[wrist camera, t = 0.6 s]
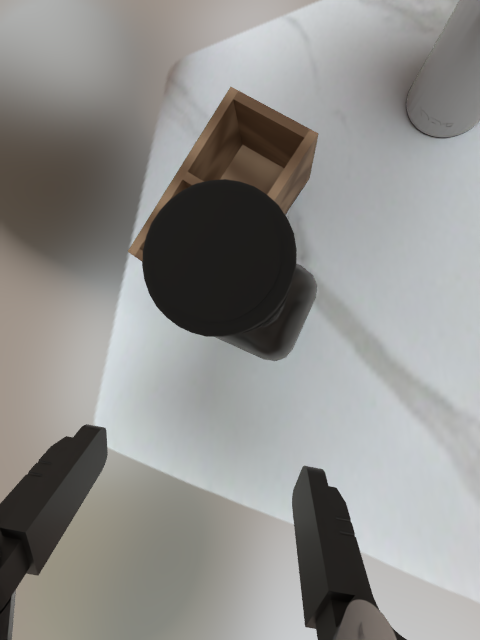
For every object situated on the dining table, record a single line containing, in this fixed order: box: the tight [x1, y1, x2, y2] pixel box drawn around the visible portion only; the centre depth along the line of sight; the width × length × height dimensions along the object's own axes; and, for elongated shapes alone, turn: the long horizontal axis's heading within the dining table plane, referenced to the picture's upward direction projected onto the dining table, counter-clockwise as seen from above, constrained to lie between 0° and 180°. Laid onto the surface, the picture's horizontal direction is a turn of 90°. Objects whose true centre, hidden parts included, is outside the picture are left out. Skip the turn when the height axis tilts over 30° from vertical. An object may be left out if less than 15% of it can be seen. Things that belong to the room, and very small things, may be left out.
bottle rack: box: [128, 87, 318, 261], centre depth 32 cm, size 21×11×8 cm, turn 146°
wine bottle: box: [142, 179, 317, 361], centre depth 20 cm, size 6×6×30 cm
